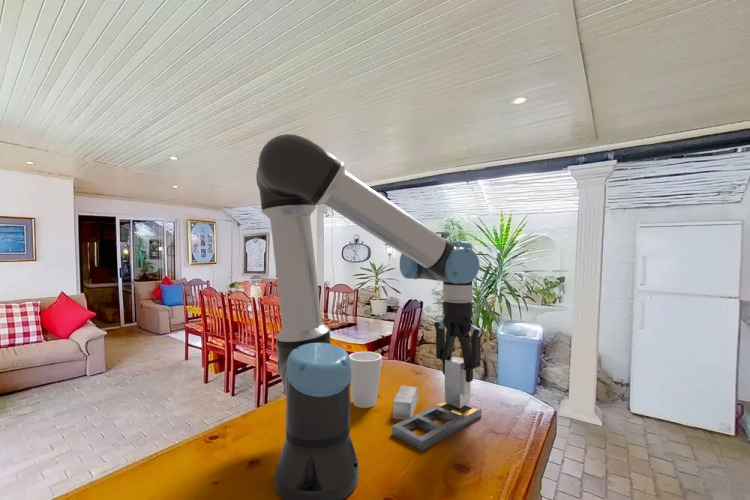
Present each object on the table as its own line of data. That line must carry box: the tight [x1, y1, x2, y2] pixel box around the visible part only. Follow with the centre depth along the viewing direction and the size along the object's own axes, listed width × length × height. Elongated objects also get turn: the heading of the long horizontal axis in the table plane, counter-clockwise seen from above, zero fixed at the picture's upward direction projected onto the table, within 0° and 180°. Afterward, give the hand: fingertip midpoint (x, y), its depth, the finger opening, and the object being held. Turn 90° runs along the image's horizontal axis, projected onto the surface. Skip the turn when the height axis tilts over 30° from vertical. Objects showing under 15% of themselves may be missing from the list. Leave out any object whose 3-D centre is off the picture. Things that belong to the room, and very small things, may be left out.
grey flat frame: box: [391, 400, 482, 452], centre depth 84 cm, size 24×9×2 cm, turn 133°
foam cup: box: [348, 351, 383, 409], centre depth 96 cm, size 10×9×13 cm
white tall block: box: [444, 356, 471, 408], centre depth 89 cm, size 4×4×11 cm
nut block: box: [392, 385, 418, 421], centre depth 92 cm, size 11×4×4 cm, turn 164°
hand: (457, 390), depth 89 cm, fingers closed on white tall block, 4 cm apart
